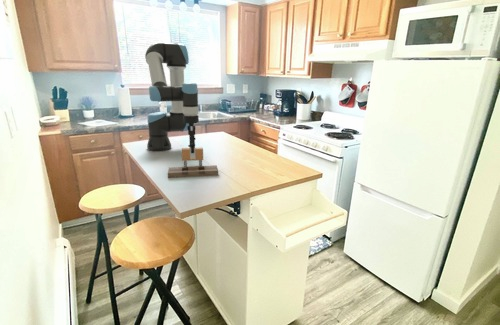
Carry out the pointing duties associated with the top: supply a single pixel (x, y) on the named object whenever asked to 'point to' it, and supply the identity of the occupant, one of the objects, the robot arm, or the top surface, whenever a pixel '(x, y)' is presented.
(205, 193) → the top surface
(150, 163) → the top surface
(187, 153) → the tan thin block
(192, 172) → the rail
